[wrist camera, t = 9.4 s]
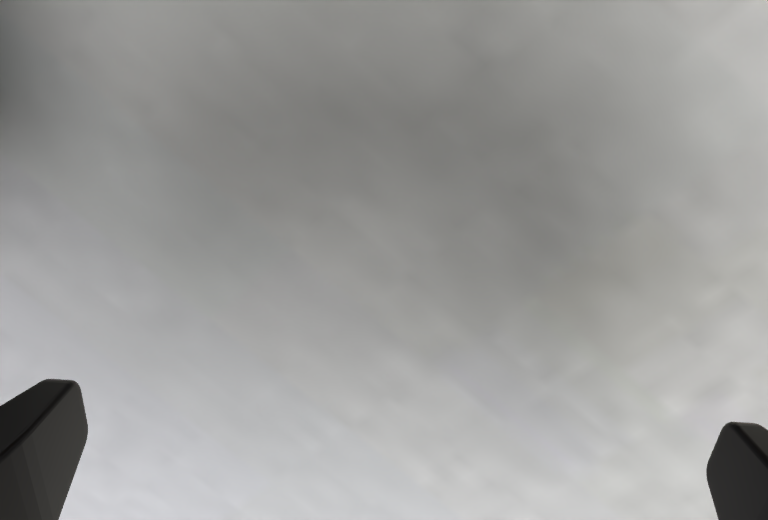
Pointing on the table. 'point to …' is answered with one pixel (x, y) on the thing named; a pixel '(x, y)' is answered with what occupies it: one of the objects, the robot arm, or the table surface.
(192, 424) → the table surface
